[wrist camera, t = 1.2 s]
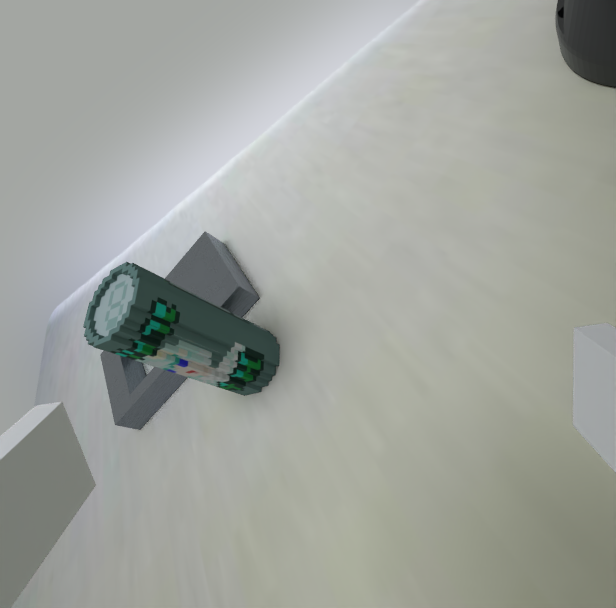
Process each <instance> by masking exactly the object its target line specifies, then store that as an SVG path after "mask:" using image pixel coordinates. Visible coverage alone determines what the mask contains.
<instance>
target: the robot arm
mask: <svg viewBox="0 0 616 608" xmlns="http://www.w3.org/2000/svg"><path fill="white" fill-rule="evenodd" d="M556 30H557V35H558V40H559V45H560V49H561V53H562V56H563V58H564V60H565V61H566V63H567V64H568V66H569V67H570V68H571V69H572V70H573V71H574V72H576V73H577V74H579V75H580V76H582V77H584V78H585V79H588V80H590V81H593V82H596V83H599V84H603V85H608V86H614V87H616V0H558V3H557V9H556ZM573 426H574V427H575V428H576V430H577V431H578V432H579V433H580V434H581V435H582V436H583V437H584V438H585V439H586V441H587V442H588V443H589V444H590V445H591V446H592V447H593V448H594V449H595V450H596V452H597V453H598V454H599V455H600V456H601V457H602V458H603V459H604V460H605V462H606V463H607V464H608V465H609V466H610V467H611V468H612V469H613V470H614V471H615V473H616V328H615V327H614V326H612V325H610V324H609V323H602V324H595V325H588V326H581V327H575V328H574V362H573ZM95 486H96V484H95V481H94V479H93V476H92V474H91V471H90V469H89V467H88V464H87V462H86V459H85V457H84V454H83V452H82V449H81V447H80V444H79V442H78V439H77V437H76V434H75V432H74V429H73V427H72V424H71V422H70V420H69V417H68V415H67V412H66V410H65V407H64V405H63V402H57V403H50V404H43V405H36V406H35V407H33V408H32V409H31V410H30V411H29V412H28V413H27V414H25V415H24V416H23V417H22V418H21V419H20V420H18V421H17V422H16V423H15V424H14V425H13V426H12V427H10V428H9V429H8V430H7V431H6V432H5V433H4V434H2V435H1V436H0V608H11V607H12V605H13V604H14V602H15V601H16V600H17V598H18V597H19V595H20V594H21V592H22V591H23V589H24V588H25V587H26V585H27V584H28V582H29V581H30V579H31V578H32V576H33V575H34V574H35V572H36V571H37V569H38V568H39V566H40V565H41V564H42V562H43V561H44V559H45V558H46V556H47V555H48V553H49V552H50V551H51V549H52V548H53V546H54V545H55V543H56V542H57V540H58V539H59V538H60V536H61V535H62V533H63V532H64V530H65V529H66V528H67V526H68V525H69V523H70V522H71V520H72V519H73V517H74V516H75V515H76V513H77V512H78V510H79V509H80V507H81V506H82V504H83V503H84V502H85V500H86V499H87V497H88V496H89V494H90V493H91V492H92V490H93V489H94V487H95Z"/></svg>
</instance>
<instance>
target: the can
mask: <svg viewBox="0 0 616 608" xmlns="http://www.w3.org/2000/svg"><path fill="white" fill-rule="evenodd" d="M83 327H84V328H86V330H85V334H84V336H85V337H86V340H87V341H88V344H89V345H92V346H93V347H95V348H98V349H101V350H104V351H107V352H111V353H114V354H117V355H120V356H123V357H126V358H129V359H132V360H135V361H139V362H142V363H145V364H148V365H151V366H154V367H157V368H160V369H163V370H167V371H170V372H173V373H176V374H179V375H182V376H185V377H188V378H191V379H195V380H198V381H201V382H204V383H207V384H210V385H213V386H216V387H220V388H223V389H226V390H229V391H232V392H235V393H238V394H241V395H244V396H245V395H249V394H253V393H257V392H261V387H264V386H268V381H271V380H272V376H274V375H275V370H276V366H279V344H277V343H276V337H274V336H273V334H271V333H270V332H269V331H267V330H265V329H263V328H261V327H259V326H257V325H255V324H253V323H251V322H249V321H247V320H245V319H243V318H241V317H239V316H237V315H235V314H233V313H231V312H229V311H227V310H225V309H223V308H221V307H219V306H217V305H215V304H213V303H211V302H209V301H207V300H206V299H204V298H202V297H200V296H198V295H196V294H194V293H192V292H190V291H188V290H186V289H184V288H182V287H180V286H178V285H176V284H174V283H172V282H170V281H168V280H166V279H164V278H162V277H160V276H158V275H156V274H154V273H152V272H150V271H148V270H146V269H144V268H142V267H140V266H138V265H136V264H134V263H132V264H130V263H128V262H126V263H124V264H122V265H120V266H118V267H117V268H115V269H113V270H111V271H110V275H109V276H108V277H106V278H104V279H103V281H102V284H100V285H99V287H98V290H97V291H95V292H94V296H93V301H92V302H90V303H89V306H88V310H87V314H86V318H85V322H84V326H83Z"/></svg>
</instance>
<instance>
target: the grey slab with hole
mask: <svg viewBox="0 0 616 608" xmlns="http://www.w3.org/2000/svg"><path fill="white" fill-rule="evenodd" d="M165 279H166V280H168V281H170V282H172V283H174V284H176V285H178V286H180V287H182V288H184V289H186V290H188V291H190V292H192V293H194V294H196V295H198V296H200V297H202V298H204V299H206V300H207V301H209V302H211V303H213V304H215V305H217V306H219V307H221V308H223V309H225V310H227V311H229V312H231V313H233V314H235V315H237V316H239V317H241V318H242V317H243V316H244V315H245V313H246V312H247V311H248V310H249V309H250V308H251V307H252V306H253V305H254V304H255V302H256V301H257V300H258V299H259V296H258V295H257V293H256V291H255V290H254V288H253V287H252V285H251V284H250V282H249V281H248V279H247V278H246V276H245V275H244V273H243V272H242V270H241V269H240V267H239V266H238V264H237V262H236V261H235V259H234V258H233V256H232V255H231V253H230V252H229V250H228V249H227V247H226V246H225V244H224V243H222V242H221V241H219V240H218V239H216V238H215V237H213V236H212V235H210V234H209V233H207V232H204V233H203V234H202V235H201V237H200V238H199V239H198V240H197V241H196V243H195V244H194V245H193V246H192V247H191V248H190V250H189V251H188V252H187V253H186V254H185V256H184V257H183V258H182V259H181V260H180V261H179V263H178V264H177V265H176V266H175V267H174V269H173V270H172V271H171V272H170V273H169V274H168V276H167V277H166V278H165ZM101 360H102V365H103V369H104V374H105V379H106V384H107V389H108V393H109V398H110V403H111V408H112V412H113V417H114V422H115V425H118V426H123V427H128V428H134V429H139V430H140V429H141V428H142V427H143V426H144V425H145V423H146V422H147V421H148V420H149V419H150V418H151V417H152V416H153V415H154V414H155V412H156V411H157V410H158V409H159V408H160V407H161V406H162V405H163V404H164V403H165V401H166V400H167V399H168V398H169V397H170V396H171V395H172V394H173V393H174V392H175V390H176V389H177V388H178V387H179V386H180V385H181V384H182V383H183V382H184V381H185V379H186V378H187V377H185V376H182V375H179V374H176V373H173V372H170V371H167V370H163V369H160V368H157V367H154V368H153V369H152V370H151V372H150V373H149V374H148V375H147V376H146V374H145V370H144V367H143V364H142V362H139V361H135V360H132V359H129V358H126V357H123V356H120V355H117V354H114V353H111V352H107V351H103V352H102V353H101Z"/></svg>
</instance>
